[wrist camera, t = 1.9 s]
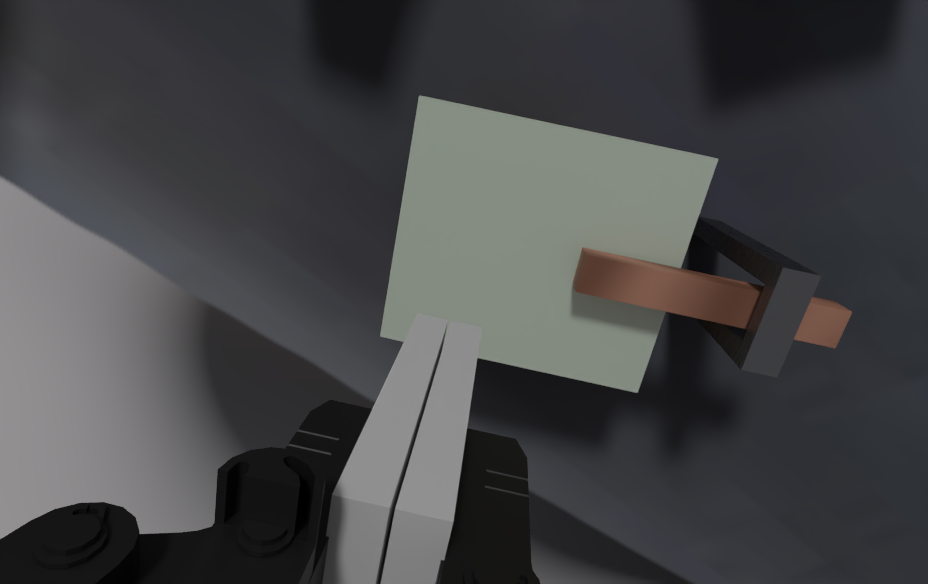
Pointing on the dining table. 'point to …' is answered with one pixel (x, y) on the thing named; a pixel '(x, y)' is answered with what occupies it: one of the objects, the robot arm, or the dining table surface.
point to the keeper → (777, 304)
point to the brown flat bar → (695, 294)
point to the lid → (536, 237)
